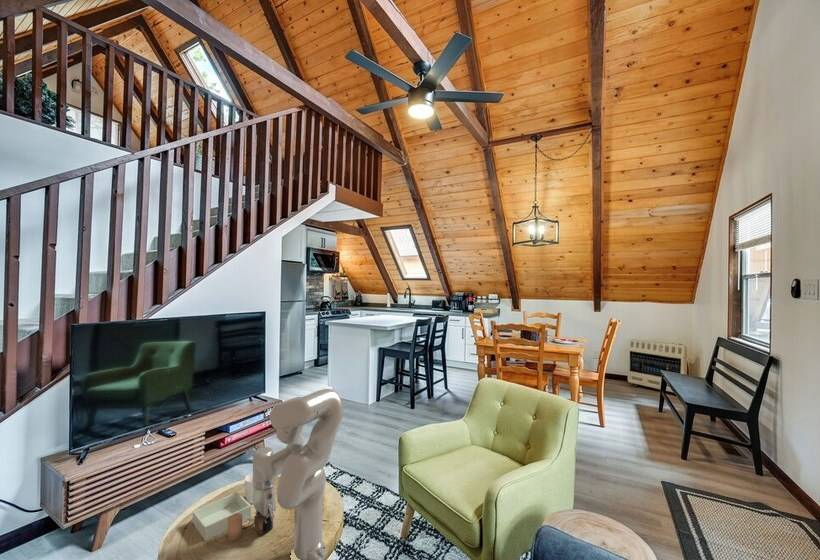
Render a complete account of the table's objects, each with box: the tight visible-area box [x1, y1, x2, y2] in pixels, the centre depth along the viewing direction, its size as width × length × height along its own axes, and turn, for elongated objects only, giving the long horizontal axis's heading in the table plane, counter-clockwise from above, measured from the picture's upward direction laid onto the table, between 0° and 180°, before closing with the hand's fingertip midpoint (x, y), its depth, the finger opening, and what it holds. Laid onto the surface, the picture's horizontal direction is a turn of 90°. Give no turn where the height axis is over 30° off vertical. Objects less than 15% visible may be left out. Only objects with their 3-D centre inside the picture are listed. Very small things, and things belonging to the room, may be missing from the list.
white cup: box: [244, 472, 254, 505], centre depth 159 cm, size 8×8×10 cm
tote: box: [192, 491, 252, 542], centre depth 145 cm, size 13×17×5 cm
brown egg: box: [227, 513, 243, 542], centre depth 137 cm, size 5×5×7 cm
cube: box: [254, 511, 274, 536], centre depth 141 cm, size 5×5×5 cm
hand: (263, 527), depth 141 cm, fingers closed on cube, 5 cm apart
